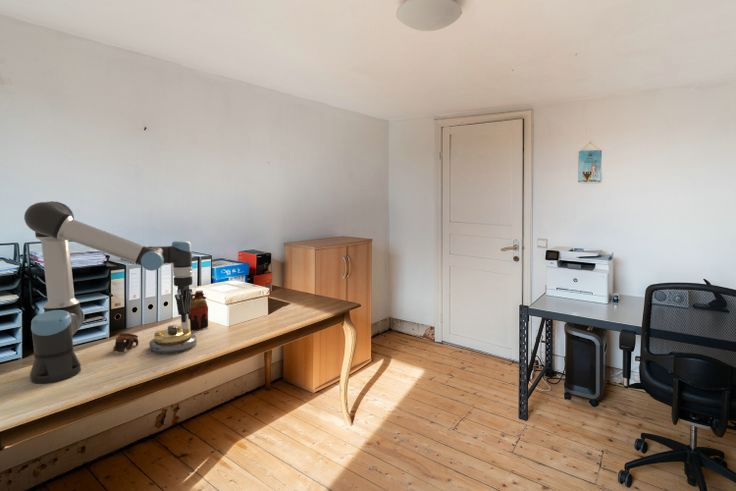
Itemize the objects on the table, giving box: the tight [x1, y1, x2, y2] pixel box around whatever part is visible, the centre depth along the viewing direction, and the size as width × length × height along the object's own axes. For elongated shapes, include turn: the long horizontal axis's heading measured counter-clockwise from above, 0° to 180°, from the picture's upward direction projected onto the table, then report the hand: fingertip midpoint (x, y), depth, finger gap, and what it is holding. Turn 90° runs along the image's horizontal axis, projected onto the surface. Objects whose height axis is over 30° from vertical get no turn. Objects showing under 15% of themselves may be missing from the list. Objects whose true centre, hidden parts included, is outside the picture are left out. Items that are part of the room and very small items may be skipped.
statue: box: [188, 290, 209, 332], centre depth 206 cm, size 12×8×20 cm, turn 124°
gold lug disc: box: [153, 319, 192, 345], centre depth 182 cm, size 15×15×9 cm
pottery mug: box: [112, 332, 139, 353], centre depth 179 cm, size 12×10×8 cm
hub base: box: [149, 324, 197, 355], centre depth 182 cm, size 19×19×9 cm
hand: (185, 328), depth 180 cm, fingers closed
